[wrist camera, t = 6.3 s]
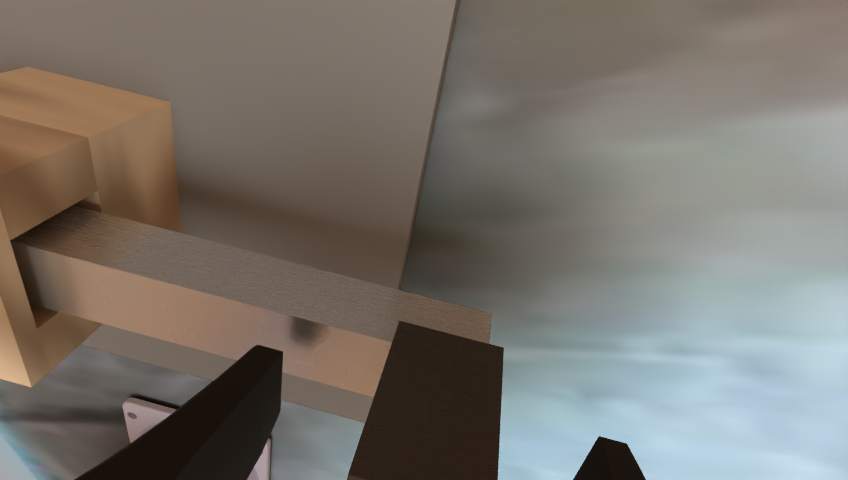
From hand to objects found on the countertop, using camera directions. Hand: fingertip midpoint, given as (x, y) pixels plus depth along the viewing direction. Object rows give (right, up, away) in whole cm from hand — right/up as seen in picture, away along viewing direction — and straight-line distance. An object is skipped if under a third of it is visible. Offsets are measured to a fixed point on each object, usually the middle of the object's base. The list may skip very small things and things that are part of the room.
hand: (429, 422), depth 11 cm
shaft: (-6, +3, +3) cm, 7 cm away
